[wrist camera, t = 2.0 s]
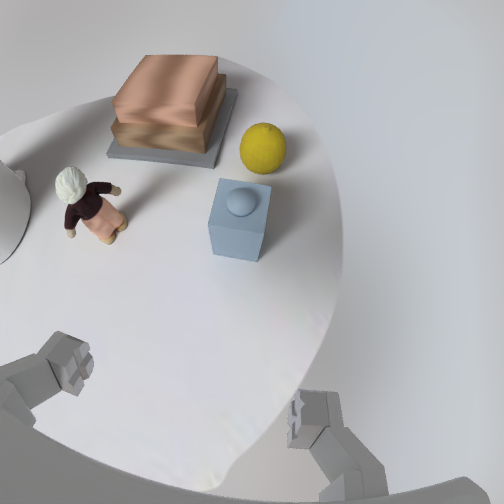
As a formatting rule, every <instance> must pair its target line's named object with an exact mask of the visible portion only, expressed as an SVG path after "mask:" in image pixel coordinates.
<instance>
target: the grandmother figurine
mask: <svg viewBox="0 0 504 504" xmlns="http://www.w3.org/2000/svg"><path fill="white" fill-rule="evenodd" d="M55 186H56V193H57V196H58V197H59V199H61V200H62V201H63V202H64V204H67V203H68V207H67V209H66V213H65V225H64V227H65V229H66V230H67V235H68V237H69V238H74V237H75V235H76V231H75V226H76V224H77V222H78V221H79V219H80V218H81V220H82V222H83V223H84V224H85V225H86V226H87V227H88V229H89V230H90V231H91V232H92V233H94V234H95V235H96V236H98V238H99V239H100V240H101V241H103V242H104V243H106V244H111V243H113V241H114V240H115V234H114V233H113V231H114V230H115V228H116V230H117V231H123V230H124V229H126V228H127V221H126V217H125V215H124V213H122V212H118V211H117V210H116V209H115V208H114V207H113V206H112V205H111V204H110V203H109V202H108V201H107V200H106V199H105V198H103V197H101V196H100V195H99V194H112V195H114V196H119V195H120V194H121V189H120V188H119V187H116V186H114V185H112V184H111V183H108V182H91V183H89V184H87V179H86V177H85V175H84V174H83V173H82V172H81V170H79V169H77V168H76V167H73V166H72V167H66V168H65V169H64V170H63V171H61V172H60V173H59V175H58V176H57V178H56V183H55Z"/></svg>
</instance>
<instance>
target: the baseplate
mask: <svg viewBox="0 0 504 504" xmlns="http://www.w3.org/2000/svg"><path fill="white" fill-rule="evenodd" d="M236 96H237V89H230V88H226V95H225V98H224V101H223V104H222V106H221V109H220V112H219V115H218V117H217V120H216V123H215V126H214V129H213V132H212V134H211V137H210V140H209V143H208V146H207V149H206V152H205V154H202V153H193V152H184V151H175V150H165V149H153V148H140V147H125V146H119V145H118V143H117V141H116V139H115V138H114V140H113V142H112V143H111V145H110V147H109V149H108V151H107V153H106V154H107V156H108V158H118V159H131V160H143V161H153V162H163V163H172V164H181V165H189V166H197V167H205V168H212V169H214V166H215V163H216V159H217V156H218V153H219V149H220V146H221V143H222V140H223V136H224V133H225V130H226V127H227V124H228V120H229V117H230V114H231V111H232V108H233V105H234V102H235V99H236Z"/></svg>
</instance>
